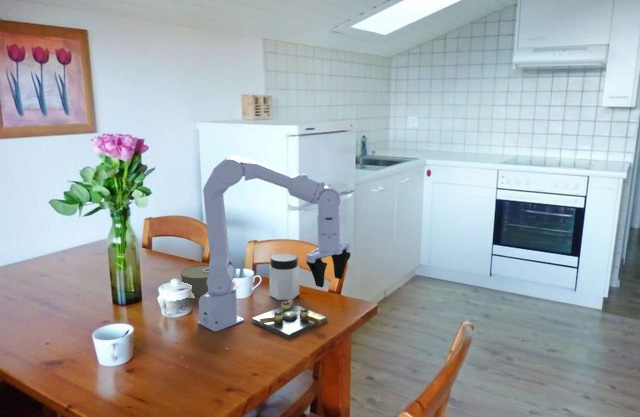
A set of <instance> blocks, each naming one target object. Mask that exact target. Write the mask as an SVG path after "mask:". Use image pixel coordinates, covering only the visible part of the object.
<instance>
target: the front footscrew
mask: <svg viewBox="0 0 640 417" xmlns="http://www.w3.org/2000/svg"><path fill="white" fill-rule="evenodd" d="M300 319H301V320H309V321H311V322H314V323H316V324H320V325H322V324H323V323H322V318H320V317H318V316H315V315H312V314H310V313H309V309H308V308H306V307H305V308H304V307H302V309H301V310H300ZM321 323H322V324H321Z"/></svg>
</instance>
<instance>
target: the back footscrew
mask: <svg viewBox="0 0 640 417" xmlns="http://www.w3.org/2000/svg"><path fill="white" fill-rule="evenodd" d="M292 304H294V299H289V300H283V301H282V302H281V307H282V312H287V311H291V306H292Z"/></svg>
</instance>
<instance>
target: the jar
mask: <svg viewBox="0 0 640 417" xmlns="http://www.w3.org/2000/svg"><path fill="white" fill-rule="evenodd" d="M298 260H299V258H298V255H296V254H293V253H277V254H273V255H271V256H270V265H269V267H268V269H269V270H268V271H269V272H268V274H269V275H268V277H269V296H270V297H272V298H274V300H277V301H288V300H289V299H293V300H294V299H295V298H296V297H298V296H299V295H300V265H299V261H298Z"/></svg>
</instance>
